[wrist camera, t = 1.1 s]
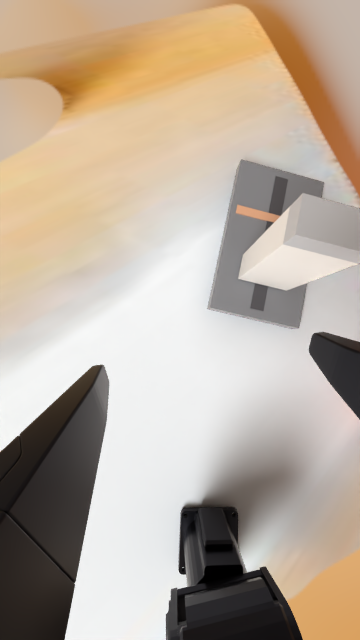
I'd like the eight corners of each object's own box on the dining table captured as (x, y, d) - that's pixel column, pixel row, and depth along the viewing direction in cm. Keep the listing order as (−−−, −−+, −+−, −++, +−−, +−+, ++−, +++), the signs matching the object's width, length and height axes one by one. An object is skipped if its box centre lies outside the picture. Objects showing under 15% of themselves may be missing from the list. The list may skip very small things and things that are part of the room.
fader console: (291, 328, 27) (299, 328, 25) (207, 309, 26) (210, 307, 25) (315, 190, 29) (324, 181, 27) (237, 168, 28) (241, 158, 26)
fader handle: (286, 290, 25) (378, 256, 15) (237, 278, 25) (295, 234, 14) (290, 266, 26) (384, 215, 15) (242, 254, 25) (303, 193, 14)
